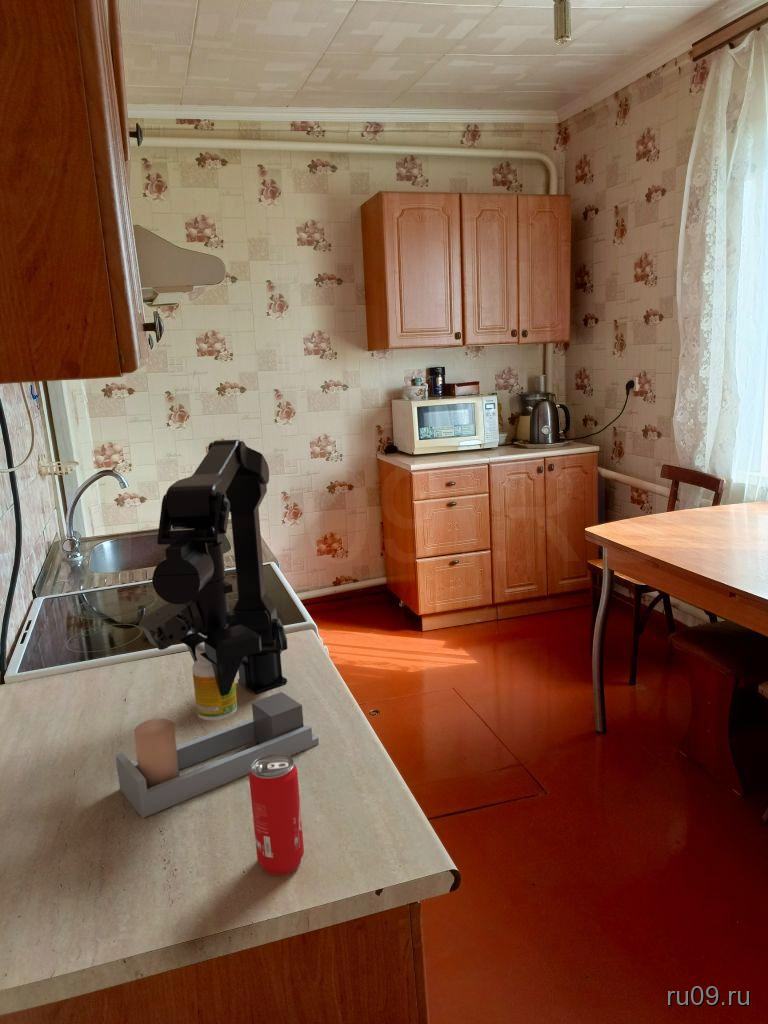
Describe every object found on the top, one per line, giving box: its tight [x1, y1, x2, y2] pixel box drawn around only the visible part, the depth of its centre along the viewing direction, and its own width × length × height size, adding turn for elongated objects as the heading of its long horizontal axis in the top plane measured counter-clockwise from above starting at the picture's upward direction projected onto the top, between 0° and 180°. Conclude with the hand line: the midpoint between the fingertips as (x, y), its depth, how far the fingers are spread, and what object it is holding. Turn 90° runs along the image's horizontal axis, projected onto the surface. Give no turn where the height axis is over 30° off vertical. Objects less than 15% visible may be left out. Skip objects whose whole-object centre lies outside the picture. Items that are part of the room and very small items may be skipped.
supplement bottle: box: [191, 642, 238, 722], centre depth 100 cm, size 5×5×10 cm
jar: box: [133, 718, 180, 789], centre depth 97 cm, size 5×5×9 cm
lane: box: [114, 717, 320, 819], centre depth 102 cm, size 26×8×5 cm, turn 128°
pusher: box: [251, 691, 304, 744], centre depth 107 cm, size 5×6×6 cm
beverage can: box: [248, 754, 305, 877], centre depth 81 cm, size 5×5×12 cm
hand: (215, 687), depth 101 cm, fingers closed on supplement bottle, 5 cm apart
